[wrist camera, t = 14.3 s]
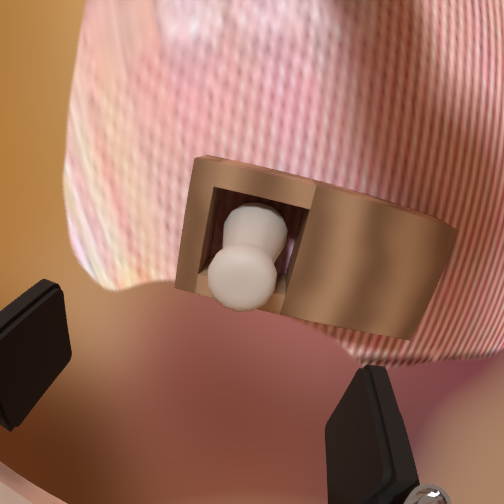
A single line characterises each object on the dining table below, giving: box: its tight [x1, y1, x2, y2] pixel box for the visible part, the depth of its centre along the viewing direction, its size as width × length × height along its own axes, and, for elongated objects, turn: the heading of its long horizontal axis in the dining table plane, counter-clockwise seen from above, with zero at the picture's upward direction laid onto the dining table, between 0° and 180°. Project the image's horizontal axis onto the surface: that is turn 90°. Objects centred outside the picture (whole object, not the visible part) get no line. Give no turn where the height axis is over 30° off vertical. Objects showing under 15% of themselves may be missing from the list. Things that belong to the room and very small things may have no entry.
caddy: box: [175, 155, 458, 340], centre depth 29 cm, size 24×12×4 cm, turn 78°
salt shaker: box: [208, 202, 288, 312], centre depth 25 cm, size 6×6×13 cm
